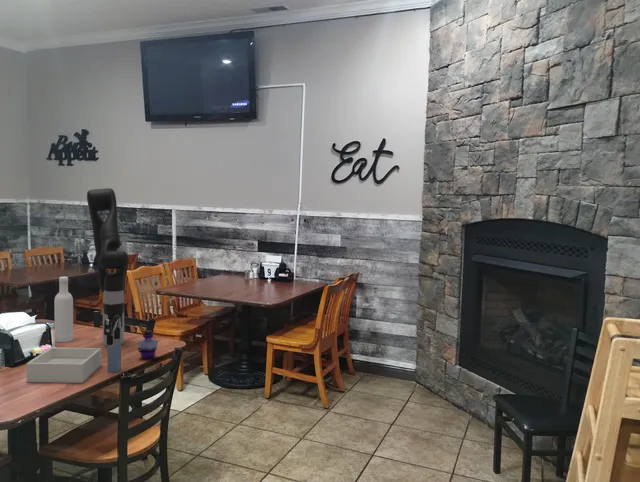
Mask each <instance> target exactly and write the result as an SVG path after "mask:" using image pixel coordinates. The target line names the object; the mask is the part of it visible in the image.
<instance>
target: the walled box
mask: <svg viewBox="0 0 640 482" xmlns="http://www.w3.org/2000/svg"><path fill="white" fill-rule="evenodd" d="M102 349H103V348H101V347H50V348H48V349H46V350H45V351H43V352H42V353H40V354H39V355H37V356H35V357H33V359H31V360H29V361H28V362H27V363H26V364H25V368H26V383H72V384H73V383H74V384H75V383H76V384H82V383H84V382H85V381H86V380H87V379H88V378H89V377H91V375H93V374H94V373H95V372H96V371H97V370H98V369H99V368H100V367H102V365H103V364H102V361H103V358H102V354H103V353H102Z"/></svg>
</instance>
